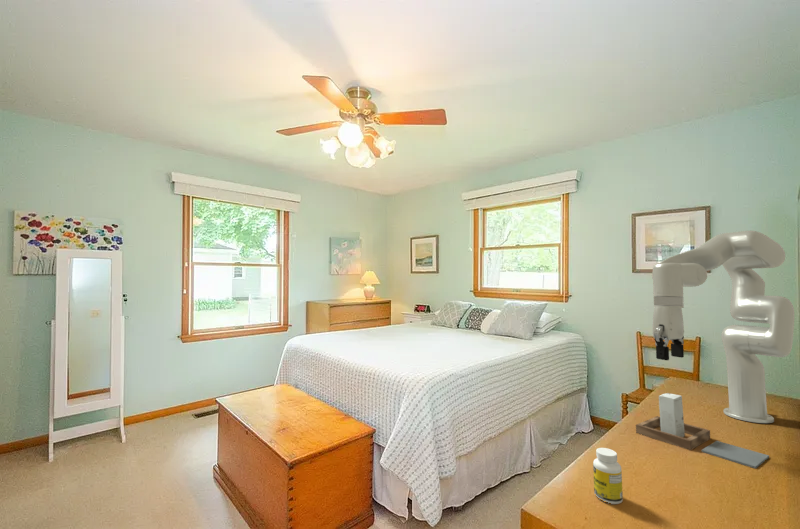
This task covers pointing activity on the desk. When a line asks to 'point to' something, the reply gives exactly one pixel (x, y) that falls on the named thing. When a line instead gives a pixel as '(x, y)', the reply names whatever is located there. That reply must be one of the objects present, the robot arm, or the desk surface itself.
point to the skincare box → (671, 414)
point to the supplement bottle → (607, 476)
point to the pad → (736, 454)
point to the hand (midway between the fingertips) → (670, 358)
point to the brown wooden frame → (689, 443)
